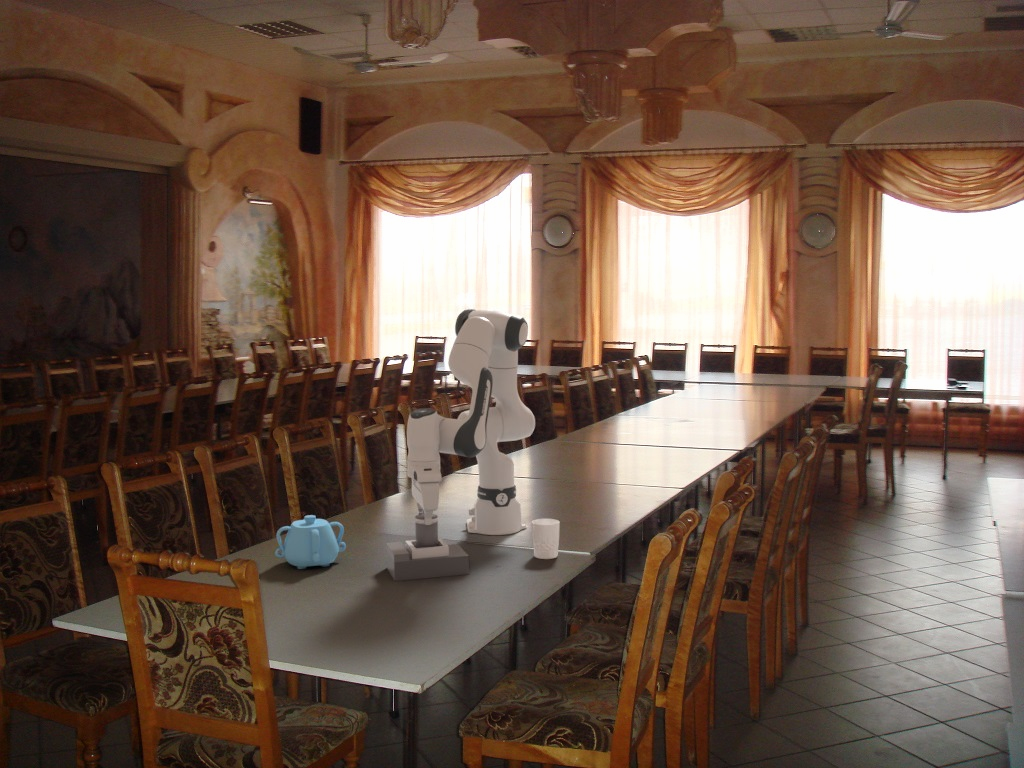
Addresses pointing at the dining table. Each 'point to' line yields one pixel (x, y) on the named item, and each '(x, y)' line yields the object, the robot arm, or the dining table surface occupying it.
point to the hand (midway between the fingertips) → (424, 520)
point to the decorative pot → (310, 542)
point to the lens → (426, 532)
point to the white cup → (545, 538)
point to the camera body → (425, 560)
